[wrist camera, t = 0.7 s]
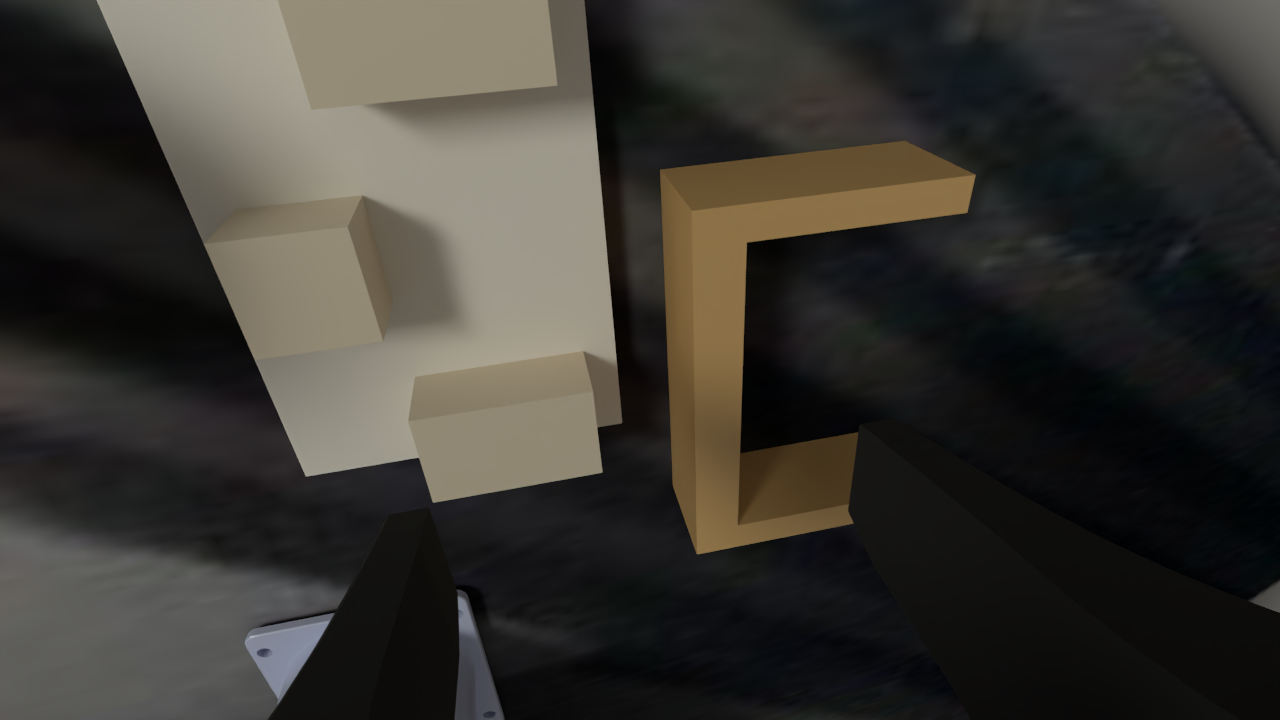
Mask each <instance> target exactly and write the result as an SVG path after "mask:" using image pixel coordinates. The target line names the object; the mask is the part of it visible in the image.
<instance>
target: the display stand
mask: <svg viewBox="0 0 1280 720" xmlns="http://www.w3.org/2000/svg"><path fill="white" fill-rule="evenodd" d="M97 2H98V4H99V7H100V9H101V11H102V13H103V16H104V18H105V20H106V23H107V25H108V27H109V29H110V32H111V34H112V36H113V39H114V41H115V43H116V45H117V48H118V50H119V52H120V54H121V57H122V59H123V61H124V64H125V66H126V68H127V70H128V73H129V75H130V77H131V79H132V82H133V84H134V86H135V89H136V91H137V93H138V95H139V98H140V100H141V102H142V105H143V107H144V109H145V111H146V114H147V116H148V118H149V120H150V123H151V125H152V127H153V130H154V132H155V134H156V136H157V139H158V141H159V143H160V146H161V148H162V150H163V152H164V155H165V157H166V159H167V161H168V164H169V166H170V168H171V171H172V173H173V175H174V177H175V180H176V182H177V184H178V186H179V189H180V191H181V193H182V196H183V198H184V200H185V202H186V205H187V207H188V209H189V212H190V214H191V216H192V218H193V221H194V223H195V225H196V227H197V230H198V232H199V234H200V237H201V239H202V241H203V243H204V246H205V248H206V250H207V253H208V255H209V257H210V259H211V262H212V264H213V266H214V268H215V271H216V273H217V275H218V278H219V280H220V282H221V284H222V287H223V289H224V291H225V293H226V296H227V298H228V300H229V303H230V305H231V307H232V309H233V312H234V314H235V316H236V319H237V321H238V323H239V325H240V328H241V330H242V332H243V334H244V337H245V339H246V341H247V344H248V346H249V348H250V350H251V353H252V355H253V357H254V360H255V362H256V364H257V366H258V369H259V371H260V373H261V375H262V378H263V380H264V382H265V385H266V387H267V389H268V391H269V394H270V396H271V398H272V400H273V403H274V405H275V407H276V410H277V412H278V414H279V416H280V419H281V421H282V423H283V426H284V428H285V430H286V432H287V435H288V437H289V439H290V441H291V444H292V446H293V448H294V451H295V453H296V455H297V457H298V460H299V462H300V464H301V467H302V469H303V471H304V473H305V476H312V475H318V474H324V473H330V472H336V471H342V470H348V469H354V468H360V467H366V466H371V465H377V464H383V463H389V462H395V461H401V460H407V459H413V458H419V459H420V462H421V465H422V468H423V472H424V475H425V478H426V481H427V485H428V488H429V491H430V494H431V497H432V501H433V503H434V502H440V501H446V500H451V499H457V498H463V497H468V496H474V495H479V494H485V493H491V492H496V491H502V490H507V489H513V488H519V487H524V486H530V485H536V484H541V483H547V482H552V481H558V480H564V479H569V478H575V477H580V476H586V475H592V474H597V473H602V464H601V456H600V447H599V439H598V430H597V427H603V426H609V425H614V424H620V423H622V414H621V403H620V392H619V381H618V369H617V358H616V347H615V336H614V325H613V314H612V302H611V291H610V280H609V269H608V258H607V247H606V236H605V224H604V213H603V202H602V191H601V180H600V169H599V157H598V146H597V135H596V124H595V113H594V102H593V91H592V79H591V68H590V57H589V46H588V35H587V24H586V12H585V1H584V0H97Z"/></svg>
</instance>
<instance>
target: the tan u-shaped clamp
mask: <svg viewBox="0 0 1280 720" xmlns="http://www.w3.org/2000/svg"><path fill="white" fill-rule="evenodd" d="M660 177H661V202H662V227H663V252H664V277H665V302H666V327H667V351H668V376H669V401H670V426H671V451H672V476H673V487H674V490H675V493H676V496H677V499H678V502H679V505H680V507H681V510H682V513H683V516H684V519H685V522H686V525H687V528H688V530H689V533H690V536H691V539H692V542H693V545H694V548H695V551H696V553H697V554H702V553H707V552H712V551H717V550H722V549H727V548H732V547H737V546H742V545H747V544H752V543H757V542H762V541H767V540H772V539H777V538H782V537H788V536H793V535H798V534H803V533H808V532H813V531H818V530H823V529H828V528H833V527H838V526H843V525H848V524H853V521H852V519H851V517H850V514H849V512H848V507H849V499H850V492H851V484H852V477H853V469H854V462H855V454H856V447H857V439H858V432H857V433H851V434H846V435H840V436H835V437H829V438H823V439H818V440H812V441H807V442H801V443H795V444H790V445H784V446H779V447H773V448H767V449H762V450H756V451H751V452H745V453H740V439H741V408H742V377H743V347H744V316H745V285H746V255H747V242H755V241H762V240H769V239H777V238H784V237H792V236H799V235H806V234H814V233H821V232H829V231H836V230H844V229H851V228H858V227H866V226H873V225H881V224H888V223H895V222H903V221H910V220H918V219H925V218H932V217H940V216H947V215H955V214H962V213H967V212H968V207H969V203H970V198H971V194H972V189H973V185H974V180H975V174H973V173H971V172H969V171H967V170H964V169H962V168H960V167H958V166H956V165H954V164H952V163H950V162H948V161H946V160H944V159H942V158H940V157H937V156H935V155H933V154H931V153H929V152H927V151H925V150H923V149H921V148H919V147H917V146H915V145H913V144H911V143H908V142H906V141H900V142H891V143H883V144H874V145H866V146H857V147H849V148H840V149H832V150H823V151H815V152H806V153H798V154H789V155H781V156H772V157H764V158H755V159H747V160H738V161H730V162H721V163H713V164H704V165H696V166H687V167H679V168H670V169H661V170H660Z"/></svg>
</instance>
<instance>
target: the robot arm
mask: <svg viewBox="0 0 1280 720" xmlns="http://www.w3.org/2000/svg"><path fill="white" fill-rule="evenodd" d="M848 512H849V514H850V517H851V519H852V521H853V523H854V525H855V527H856V530H857V532H858V534H859V536H860V538H861V540H862V542H863V544H864V546H865V548H866V550H867V552H868V554H869V557H870V559H871V561H872V563H873V564H874V566H875V568H876V569H877V571H878V572H879V574H880V576H881V577H882V579H883V580H884V582H885V584H886V585H887V587H888V588H889V590H890V591H891V593H892V594H893V596H894V598H895V599H896V601H897V602H898V604H899V605H900V607H901V609H902V610H903V612H904V613H905V615H906V616H907V618H908V619H909V621H910V622H911V624H912V625H913V627H914V629H915V630H916V632H917V633H918V635H919V636H920V638H921V639H922V641H923V642H924V644H925V645H926V647H927V649H928V650H929V652H930V653H931V655H932V656H933V658H934V659H935V661H936V662H937V664H938V665H939V667H940V669H941V670H942V672H943V673H944V675H945V676H946V678H947V679H948V681H949V683H950V684H951V686H952V688H953V689H954V691H955V693H956V694H957V696H958V698H959V699H960V701H961V703H962V704H963V706H964V708H965V710H966V711H967V713H968V715H969V717H970V719H971V720H1280V613H1278V612H1276V611H1273V610H1270V609H1267V608H1265V607H1262V606H1259V605H1256V604H1254V603H1252V602H1249V601H1246V600H1244V599H1241V598H1239V597H1236V596H1234V595H1231V594H1229V593H1226V592H1224V591H1221V590H1219V589H1216V588H1214V587H1211V586H1208V585H1206V584H1203V583H1201V582H1198V581H1196V580H1194V579H1191V578H1189V577H1187V576H1184V575H1182V574H1180V573H1177V572H1175V571H1172V570H1170V569H1168V568H1166V567H1163V566H1161V565H1159V564H1157V563H1155V562H1152V561H1150V560H1148V559H1146V558H1144V557H1142V556H1139V555H1137V554H1135V553H1133V552H1131V551H1129V550H1126V549H1124V548H1122V547H1120V546H1118V545H1116V544H1113V543H1111V542H1109V541H1107V540H1105V539H1103V538H1101V537H1099V536H1097V535H1095V534H1093V533H1091V532H1089V531H1087V530H1085V529H1083V528H1082V527H1080V526H1078V525H1076V524H1074V523H1072V522H1070V521H1068V520H1066V519H1065V518H1063V517H1061V516H1059V515H1057V514H1055V513H1053V512H1051V511H1049V510H1048V509H1046V508H1044V507H1042V506H1040V505H1039V504H1037V503H1035V502H1033V501H1031V500H1030V499H1028V498H1026V497H1024V496H1022V495H1021V494H1019V493H1017V492H1016V491H1014V490H1012V489H1010V488H1009V487H1007V486H1005V485H1003V484H1002V483H1000V482H998V481H997V480H995V479H993V478H992V477H990V476H988V475H987V474H985V473H983V472H982V471H980V470H978V469H977V468H975V467H973V466H972V465H970V464H968V463H967V462H965V461H963V460H962V459H960V458H959V457H957V456H955V455H954V454H952V453H950V452H949V451H947V450H946V449H944V448H942V447H941V446H939V445H937V444H936V443H934V442H933V441H931V440H929V439H928V438H926V437H924V436H923V435H921V434H919V433H918V432H916V431H914V430H913V429H911V428H909V427H908V426H906V425H904V424H903V423H901V422H899V421H897V420H896V419H894V418H890V419H885V420H880V421H875V422H870V423H864V424H859V432H858V439H857V447H856V454H855V462H854V469H853V477H852V484H851V492H850V499H849V507H848ZM245 646H246V648H247V650H248V651H249V653H250V654H251V656H252V658H253V659H254V661H255V662H256V664H257V666H258V667H259V669H260V671H261V672H262V674H263V675H264V677H265V679H266V680H267V682H268V683H269V685H270V687H271V688H272V690H273V692H274V693H275V695H276V696H277V698H278V704H277V707H276V708H275V710H274V711H273V713H272V714H271V715H270V717H269V718H268V720H504V714H503V711H502V708H501V704H500V701H499V698H498V694H497V691H496V688H495V684H494V681H493V678H492V674H491V671H490V668H489V665H488V661H487V658H486V655H485V651H484V648H483V645H482V641H481V638H480V635H479V631H478V628H477V625H476V622H475V618H474V615H473V612H472V608H471V605H470V602H469V598H468V595H467V594H466V593H465V592H464V591H462V590H457V589H456V587H455V584H454V581H453V578H452V575H451V572H450V569H449V566H448V563H447V560H446V557H445V554H444V551H443V548H442V545H441V542H440V539H439V536H438V534H437V531H436V528H435V525H434V522H433V519H432V516H431V513H430V510H429V507H428V508H423V509H418V510H413V511H407V512H402V513H397V514H392V515H389V516H388V517H387V518H386V519H385V520H384V522H383V524H382V526H381V528H380V530H379V532H378V534H377V536H376V538H375V540H374V542H373V544H372V545H371V547H370V549H369V551H368V553H367V555H366V557H365V559H364V561H363V563H362V565H361V567H360V569H359V570H358V572H357V574H356V576H355V578H354V580H353V582H352V583H351V585H350V587H349V589H348V591H347V593H346V594H345V596H344V598H343V600H342V601H341V603H340V605H339V607H338V608H337V610H336V612H335V613H331V614H326V615H321V616H316V617H311V618H306V619H301V620H295V621H290V622H285V623H280V624H275V625H270V626H265V627H260V628H256V629H253V630H251V631H250V632H249V633H248V635H247V638H246V641H245Z"/></svg>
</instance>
